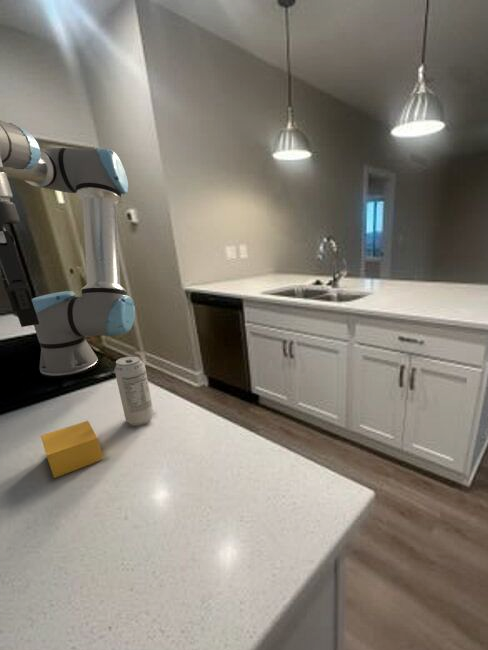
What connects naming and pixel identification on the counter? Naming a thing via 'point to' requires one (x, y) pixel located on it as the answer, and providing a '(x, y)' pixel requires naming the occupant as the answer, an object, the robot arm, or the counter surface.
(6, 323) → the counter surface
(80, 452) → the block
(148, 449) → the counter surface
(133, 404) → the energy drink can
